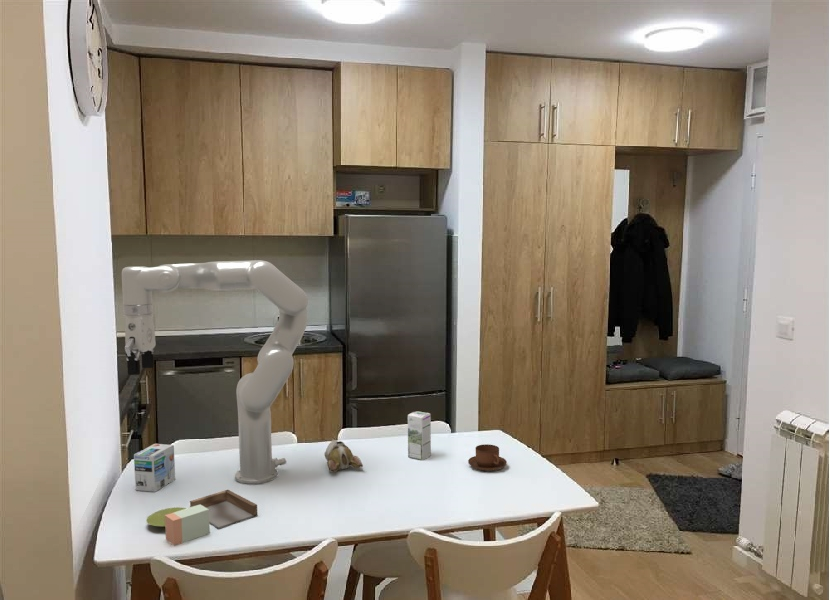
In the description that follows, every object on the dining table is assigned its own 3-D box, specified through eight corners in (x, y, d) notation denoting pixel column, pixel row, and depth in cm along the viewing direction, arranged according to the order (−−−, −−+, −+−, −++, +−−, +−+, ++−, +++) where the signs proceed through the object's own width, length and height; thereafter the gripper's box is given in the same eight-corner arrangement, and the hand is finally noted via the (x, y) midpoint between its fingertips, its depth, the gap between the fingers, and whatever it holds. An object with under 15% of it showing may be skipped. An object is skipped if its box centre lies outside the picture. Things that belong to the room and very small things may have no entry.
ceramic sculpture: (348, 431, 214) (364, 447, 201) (348, 457, 215) (364, 474, 202) (316, 436, 210) (331, 453, 196) (317, 462, 211) (331, 480, 197)
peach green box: (201, 527, 164) (200, 504, 163) (209, 533, 161) (208, 509, 160) (165, 539, 158) (164, 515, 157) (174, 545, 154) (173, 520, 154)
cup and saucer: (514, 466, 206) (514, 447, 205) (491, 476, 197) (491, 456, 197) (483, 458, 214) (483, 439, 213) (460, 467, 205) (460, 448, 205)
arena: (228, 500, 181) (227, 489, 181) (257, 515, 170) (257, 504, 170) (190, 512, 173) (190, 501, 173) (218, 529, 163) (218, 517, 162)
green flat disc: (198, 513, 173) (197, 505, 172) (188, 531, 161) (188, 524, 161) (153, 515, 171) (153, 508, 171) (141, 534, 160) (140, 527, 160)
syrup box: (431, 455, 216) (431, 412, 215) (422, 460, 211) (421, 416, 210) (417, 452, 219) (416, 410, 218) (407, 457, 214) (406, 414, 213)
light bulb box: (155, 492, 187) (153, 455, 186) (134, 491, 188) (132, 454, 187) (176, 479, 198) (174, 444, 197) (156, 477, 199) (154, 443, 198)
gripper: (139, 314, 175) (142, 377, 176) (163, 307, 192) (165, 365, 193) (110, 314, 174) (114, 377, 176) (137, 307, 192) (140, 365, 193)
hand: (141, 371), depth 185 cm, fingers open, 9 cm apart
